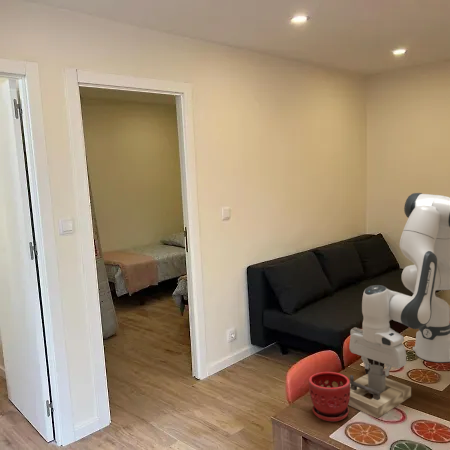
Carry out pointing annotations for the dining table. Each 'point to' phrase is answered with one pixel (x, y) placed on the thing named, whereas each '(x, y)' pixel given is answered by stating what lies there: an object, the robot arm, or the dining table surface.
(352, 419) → the dining table surface
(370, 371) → the power adapter
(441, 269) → the robot arm
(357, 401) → the tidy board
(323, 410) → the plant pot
